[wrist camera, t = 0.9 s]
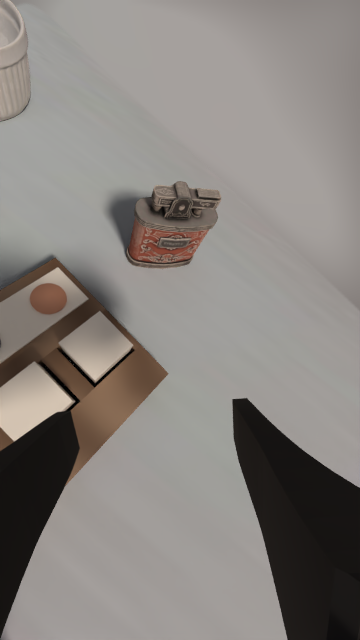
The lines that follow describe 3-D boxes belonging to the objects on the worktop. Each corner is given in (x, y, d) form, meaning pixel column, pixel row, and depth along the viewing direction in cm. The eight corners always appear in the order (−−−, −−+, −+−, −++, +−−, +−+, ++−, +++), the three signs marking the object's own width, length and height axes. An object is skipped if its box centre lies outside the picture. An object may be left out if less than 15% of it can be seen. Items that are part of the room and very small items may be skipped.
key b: (32, 442, 18) (20, 448, 16) (-5, 404, 18) (-22, 404, 16) (75, 401, 20) (72, 400, 17) (42, 367, 20) (34, 361, 17)
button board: (-15, 566, 17) (-33, 591, 14) (-165, 410, 17) (-205, 411, 15) (162, 376, 25) (168, 373, 22) (59, 270, 25) (55, 257, 22)
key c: (95, 383, 21) (94, 380, 18) (63, 350, 21) (57, 342, 18) (129, 352, 23) (133, 345, 20) (99, 321, 23) (99, 310, 20)
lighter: (128, 269, 27) (143, 203, 18) (124, 243, 28) (136, 167, 19) (193, 267, 30) (234, 209, 21) (187, 244, 31) (225, 178, 22)
